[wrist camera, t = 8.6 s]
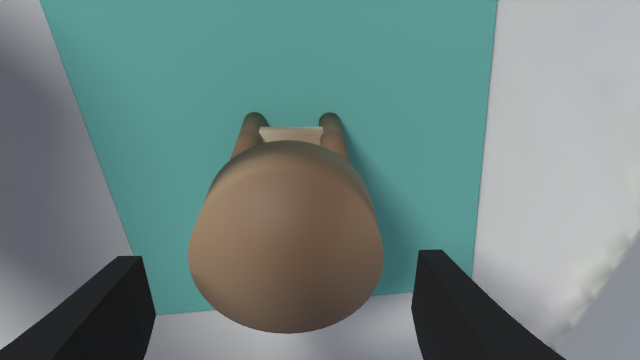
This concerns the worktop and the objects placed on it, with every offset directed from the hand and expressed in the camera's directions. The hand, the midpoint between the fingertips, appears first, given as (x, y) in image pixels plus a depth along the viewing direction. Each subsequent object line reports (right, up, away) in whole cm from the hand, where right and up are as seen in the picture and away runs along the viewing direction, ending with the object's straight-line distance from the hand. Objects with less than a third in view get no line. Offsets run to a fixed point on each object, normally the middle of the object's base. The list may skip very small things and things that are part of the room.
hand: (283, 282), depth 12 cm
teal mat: (0, +4, +7) cm, 8 cm away
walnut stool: (0, +4, +7) cm, 8 cm away
